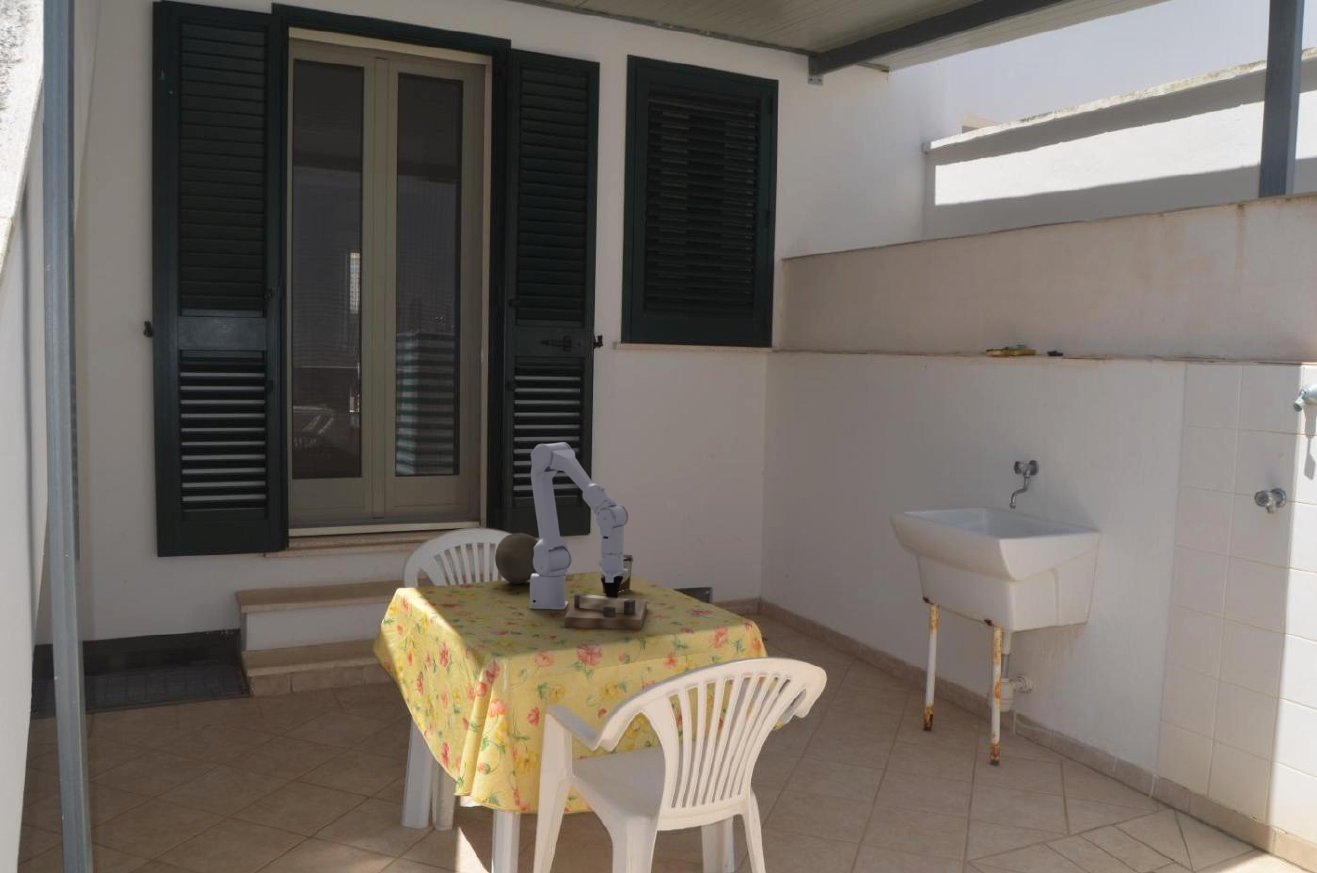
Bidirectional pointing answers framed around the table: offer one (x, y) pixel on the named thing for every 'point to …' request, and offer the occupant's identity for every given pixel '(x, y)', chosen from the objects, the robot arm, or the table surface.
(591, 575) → the table surface
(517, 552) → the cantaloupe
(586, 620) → the stool seat
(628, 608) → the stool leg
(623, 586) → the food container
